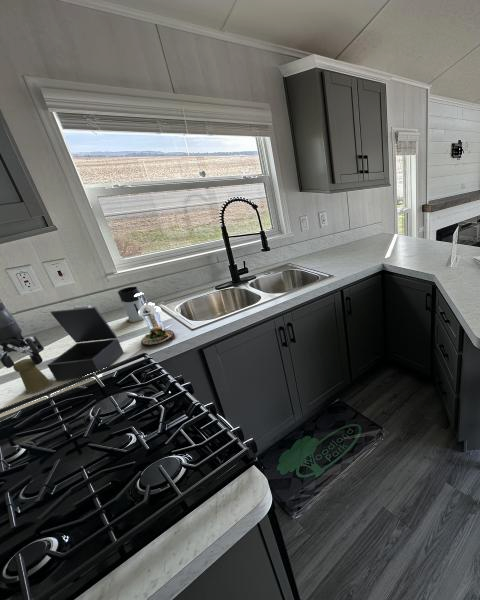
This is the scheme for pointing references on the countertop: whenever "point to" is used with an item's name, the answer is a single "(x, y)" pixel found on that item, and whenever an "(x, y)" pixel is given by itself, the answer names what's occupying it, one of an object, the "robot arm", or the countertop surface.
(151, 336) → the bowl of salad
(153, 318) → the cup with straw
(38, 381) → the cork
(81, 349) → the black hinged lid box
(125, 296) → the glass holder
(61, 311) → the hatch
